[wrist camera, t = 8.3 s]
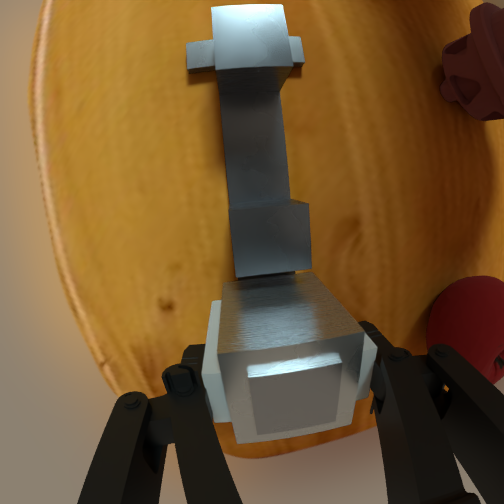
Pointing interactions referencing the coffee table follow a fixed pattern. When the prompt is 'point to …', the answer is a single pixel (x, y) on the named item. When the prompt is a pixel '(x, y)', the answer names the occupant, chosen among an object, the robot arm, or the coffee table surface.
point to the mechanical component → (477, 65)
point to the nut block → (287, 357)
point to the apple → (472, 323)
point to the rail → (256, 136)
